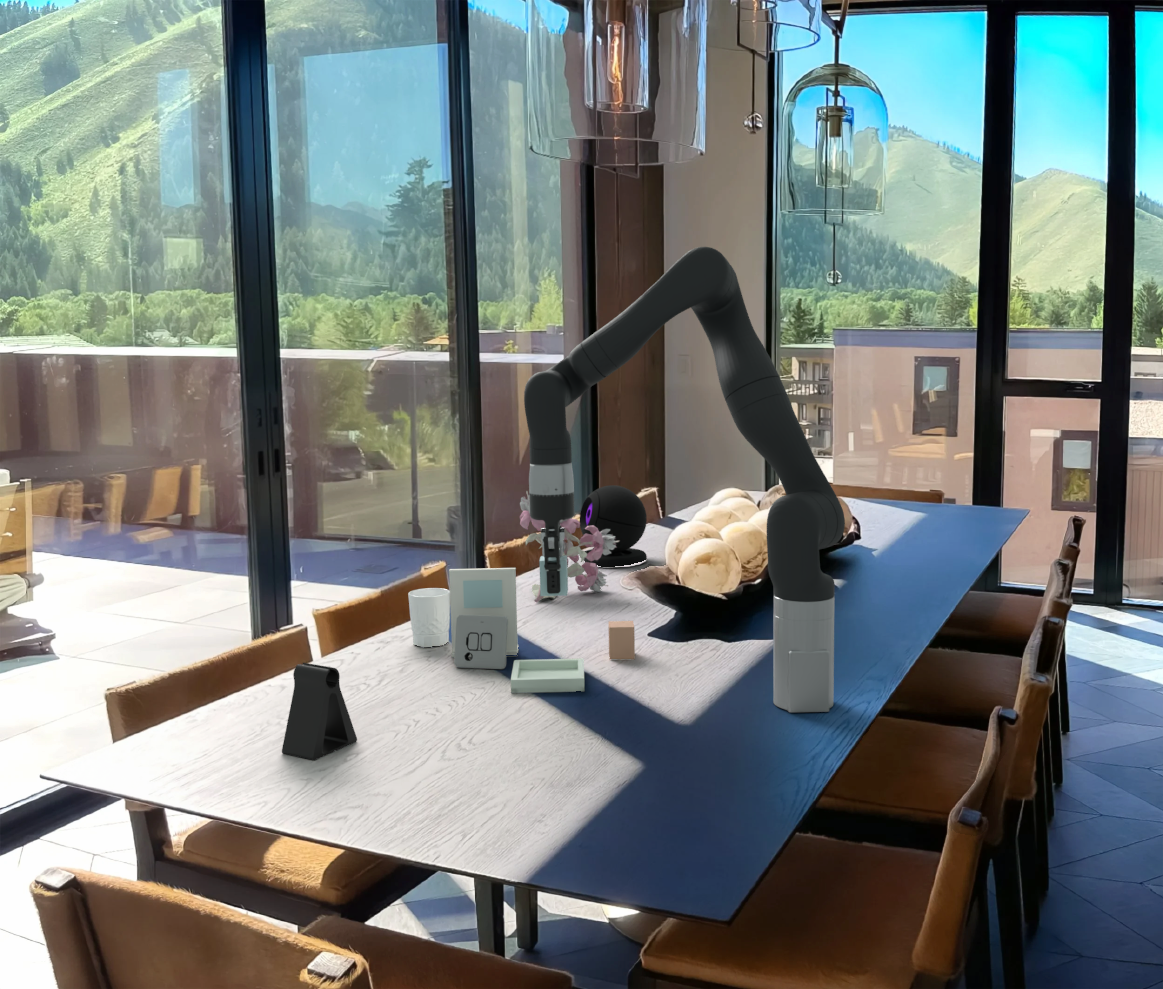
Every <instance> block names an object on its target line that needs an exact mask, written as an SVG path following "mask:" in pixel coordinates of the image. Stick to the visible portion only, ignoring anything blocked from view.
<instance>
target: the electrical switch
mask: <svg viewBox="0 0 1163 989" xmlns="http://www.w3.org/2000/svg"><path fill="white" fill-rule="evenodd" d="M507 627H508V619H507V617H506V616H483V615H459V616H458V617H457V622H456V640H455V657H453V658H454V660H453V661H454V662H453V664H454V666H455V667H456V668H459V669H478V670H479V669H481V670H483V669H484V670H504V669H505V668H506V667H507V656H506V649H507ZM470 654H471V655H472V657H468V656H469V655H470Z"/></svg>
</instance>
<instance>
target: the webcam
mask: <svg viewBox="0 0 1163 989" xmlns="http://www.w3.org/2000/svg"><path fill="white" fill-rule="evenodd" d="M579 522H580V527H579V528H580V531H581V534H582V536H583V535H584V534H585V533H586V534H591V535H593V534H592V533H591V532H590V531H589V530H586V529H585V528H586V527H587V526H592V525H594V526H595V527H597V528H598V530H599V532H601V531H602V530H604V529H610V531H609V532H608V533H607V534H606V535H608V534H611V535H613V536H616V537H615V538H616V539H615V538H614V540H615V541H619V542H616V543H615V544H613V545H616V547H617V548H616V547H615V548H614V549H613V550H610V549H609V551H610V552H611V554H608V555H604V554H603V553H602V555H601V557H600V558H599V559H598V560H593V561H589V560H588V559H587V558H584V560H583V562H584V561H585V562H588V563H595V564H596V565H598V566H601V567H615V566H624V565H631V564H634V563H638V562H642V561H644V560H646V559H647V557H648V556H647V554H646V552H645V550H641V549H638V548H632V547H634V546H635V545H636V544H637V543H638V542H639V541H640V540H641V538H642V537H643V535H644V533H645V530H646V527H647V522H648V521H647V511H646V508H645V506H644V503H643V501H642V500H641V499H640V497H639V496H638V495H637V494H636V493H634V492H633V491H632V490H630V489H628V488H626V487H624V486H620V485H612V484H611V485H606V486H605V485H604V486H601V487H599V488H597V489H595V490H594V491H592V492H591V493H590V494H588V496H586V498H585V500H584V501H583V503H582V506H581V510H580V513H579ZM609 540H611V539H609ZM592 549H593V548H592ZM592 549H588V550H584V551H585V552H586V553H587V554H588V553H589V552H590V551H591V550H592ZM647 560H648V559H647Z"/></svg>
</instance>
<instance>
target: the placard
mask: <svg viewBox="0 0 1163 989" xmlns="http://www.w3.org/2000/svg"><path fill="white" fill-rule="evenodd" d="M516 570H517V568H516V567H498V568H497V567H493V568H491V567H490V568H487V567H486V568H450V569H449V570H448V573H449V574H448V575H449V591H450V630H451V631H450V632H451V633H450V634H451V636H450V637H451V654H450V655H451V658H455V640H456V622H457V617H458V616H459V615H483V616H506V617H507V619H508V627H507V649H506V655H517V653H518V654H519V649H518V647H519V644H518V643H519V642H518V641H519V640H518V612H517V611H518V610H517V607H518V605H517V603H518V602H517V574H516ZM517 656H518V655H517ZM468 657H469V658H471V657H472V655H471V654H470V655H469V656H468Z"/></svg>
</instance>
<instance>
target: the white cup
mask: <svg viewBox="0 0 1163 989" xmlns="http://www.w3.org/2000/svg"><path fill="white" fill-rule="evenodd" d="M407 595H408V603H409V604H408V606H409V607H408V608H409V617H410V625H411V628H410V630H411V632H412V640H413V646H415V645H417V646H421V647H420V648H424V647H431V648H433V647H432V646H440V645H443V644H446V643H447V642H449V641H450V640H449V639H450V637H449V634H450V632H449V631H450V624H451V608H450V589H446V588H440V587H427V588H418V589H413V590H411V591H409V592H408V594H407ZM447 644H448V643H447ZM447 644H446V645H447ZM417 646H416V647H417ZM443 646H444V645H443ZM440 647H441V646H440Z"/></svg>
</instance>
